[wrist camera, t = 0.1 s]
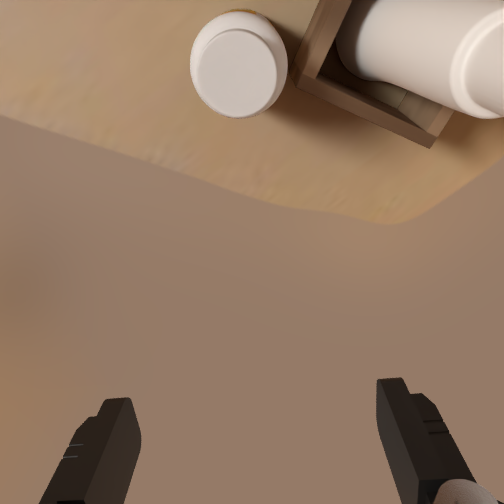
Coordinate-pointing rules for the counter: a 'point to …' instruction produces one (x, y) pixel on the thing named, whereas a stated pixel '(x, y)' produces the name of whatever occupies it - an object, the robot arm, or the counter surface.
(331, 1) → the holder
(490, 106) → the cosmetic bottle
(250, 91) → the supplement bottle
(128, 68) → the counter surface
